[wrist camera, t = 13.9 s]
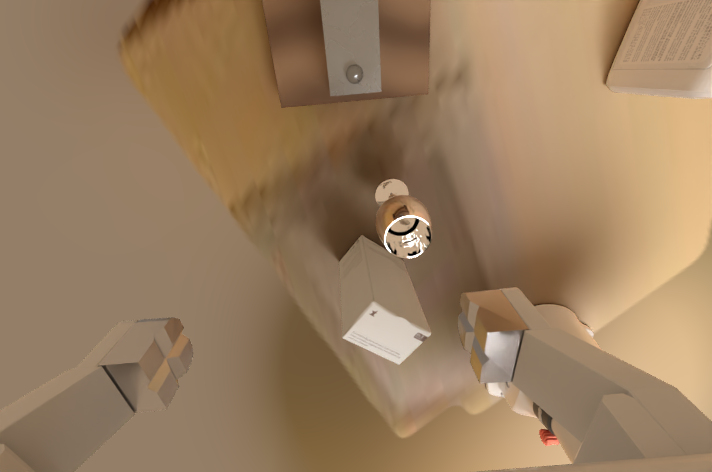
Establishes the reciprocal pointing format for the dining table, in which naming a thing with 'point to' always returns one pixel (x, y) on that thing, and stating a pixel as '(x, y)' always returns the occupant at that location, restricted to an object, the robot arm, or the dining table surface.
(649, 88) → the photo printer
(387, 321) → the skincare box
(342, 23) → the plate
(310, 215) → the dining table surface
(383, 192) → the wineglass
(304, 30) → the stand
